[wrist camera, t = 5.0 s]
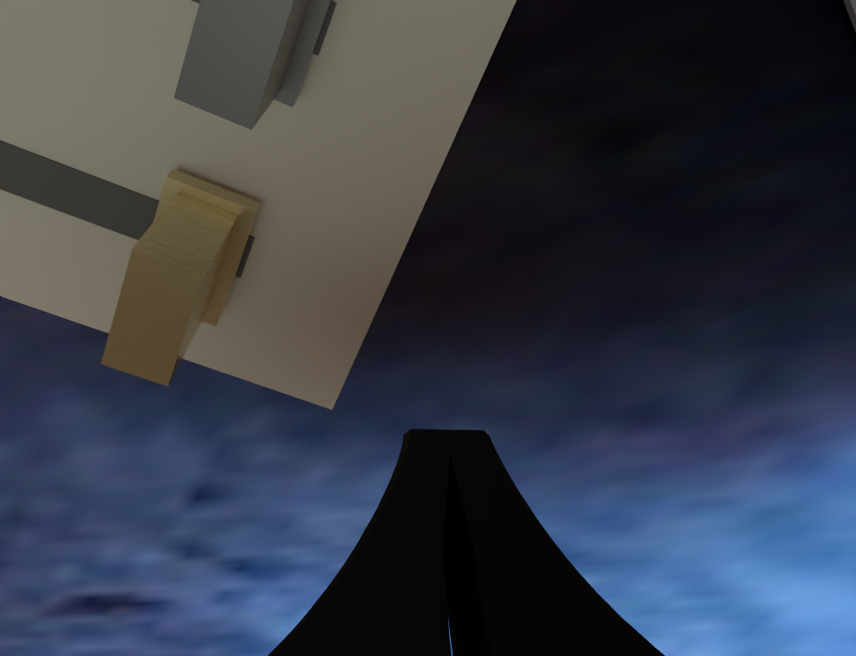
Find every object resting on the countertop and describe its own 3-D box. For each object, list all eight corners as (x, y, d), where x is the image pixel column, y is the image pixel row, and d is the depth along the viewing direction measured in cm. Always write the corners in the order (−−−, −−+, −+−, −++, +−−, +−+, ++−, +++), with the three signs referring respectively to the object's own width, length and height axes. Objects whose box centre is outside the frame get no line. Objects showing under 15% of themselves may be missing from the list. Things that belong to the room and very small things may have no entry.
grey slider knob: (248, -96, 13) (201, -95, 10) (347, -49, 14) (329, -35, 11) (203, 62, 15) (150, 102, 12) (296, 101, 15) (266, 149, 12)
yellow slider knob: (173, 168, 16) (116, 230, 13) (260, 202, 16) (225, 269, 13) (139, 286, 17) (80, 367, 14) (221, 315, 17) (181, 400, 14)
